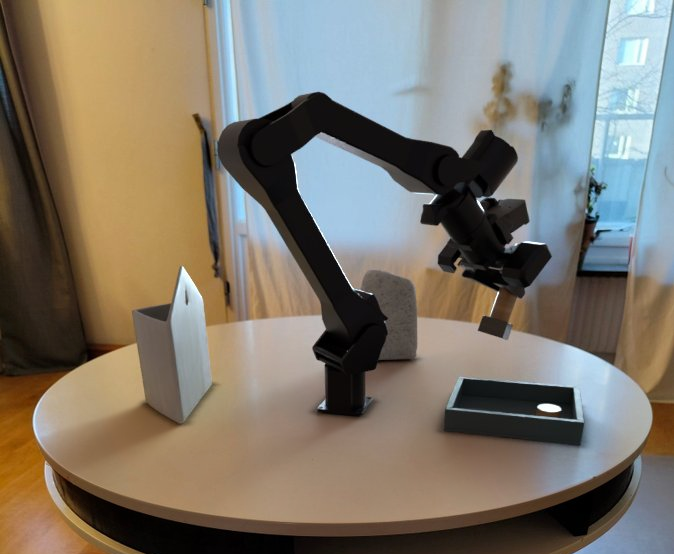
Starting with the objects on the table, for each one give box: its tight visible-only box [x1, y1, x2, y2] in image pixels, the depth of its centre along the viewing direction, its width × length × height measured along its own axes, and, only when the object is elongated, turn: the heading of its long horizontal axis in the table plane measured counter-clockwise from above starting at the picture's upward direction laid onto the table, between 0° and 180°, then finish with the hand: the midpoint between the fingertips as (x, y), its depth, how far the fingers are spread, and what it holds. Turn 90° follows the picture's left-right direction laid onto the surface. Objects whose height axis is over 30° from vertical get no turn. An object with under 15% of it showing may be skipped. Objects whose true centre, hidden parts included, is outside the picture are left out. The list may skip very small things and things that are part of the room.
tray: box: [443, 376, 585, 446], centre depth 82 cm, size 14×17×3 cm
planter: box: [131, 265, 213, 425], centre depth 86 cm, size 16×8×19 cm, turn 177°
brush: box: [477, 243, 520, 341], centre depth 95 cm, size 6×4×14 cm, turn 156°
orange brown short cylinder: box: [536, 404, 561, 418], centre depth 79 cm, size 3×3×2 cm
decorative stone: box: [359, 269, 418, 361], centre depth 106 cm, size 11×6×15 cm, turn 84°
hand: (514, 294), depth 96 cm, fingers closed on brush, 3 cm apart
